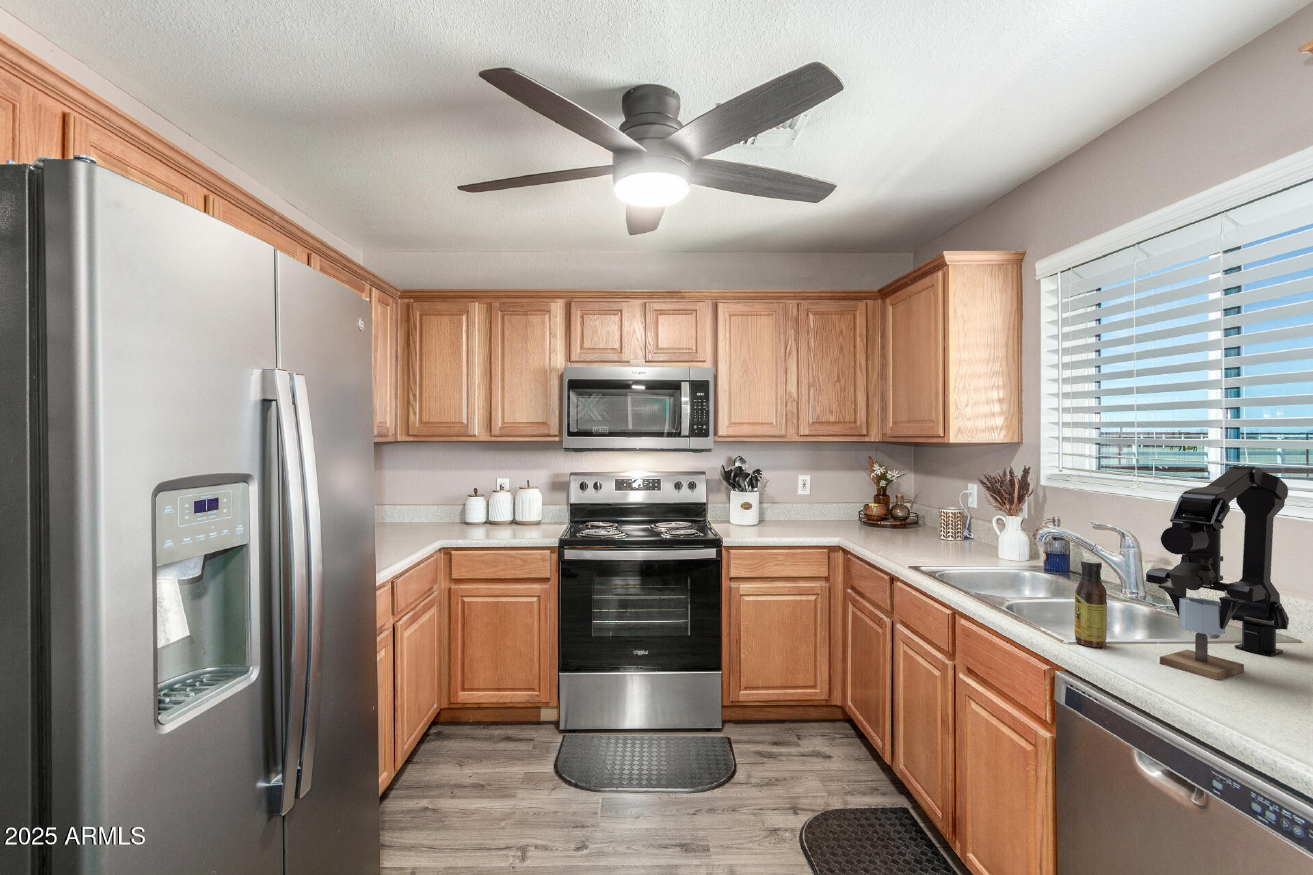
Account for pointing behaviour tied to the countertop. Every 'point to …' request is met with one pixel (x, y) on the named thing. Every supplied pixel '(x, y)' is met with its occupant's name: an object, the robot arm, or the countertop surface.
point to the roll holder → (1202, 661)
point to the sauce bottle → (1091, 606)
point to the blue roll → (1200, 615)
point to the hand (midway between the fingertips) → (1201, 623)
